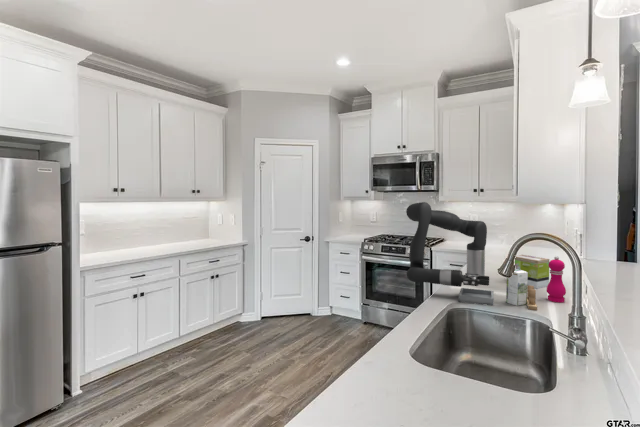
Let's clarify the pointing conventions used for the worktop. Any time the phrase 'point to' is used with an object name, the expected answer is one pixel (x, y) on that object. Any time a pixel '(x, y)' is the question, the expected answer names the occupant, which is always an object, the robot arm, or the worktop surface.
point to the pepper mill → (556, 281)
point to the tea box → (534, 270)
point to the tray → (476, 296)
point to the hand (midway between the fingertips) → (489, 280)
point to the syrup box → (517, 288)
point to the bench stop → (531, 298)
